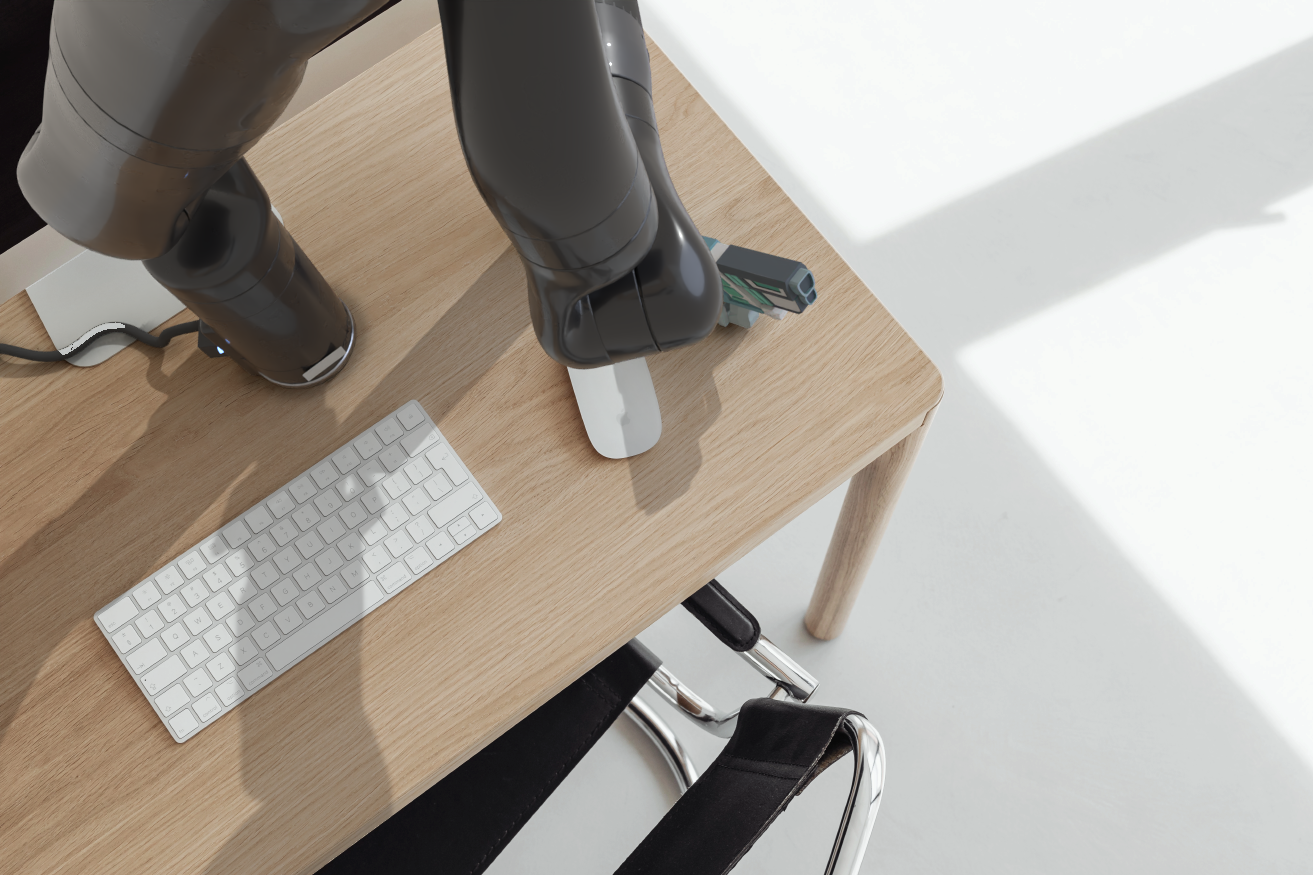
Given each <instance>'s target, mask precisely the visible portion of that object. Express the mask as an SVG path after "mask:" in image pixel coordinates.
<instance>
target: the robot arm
mask: <svg viewBox="0 0 1313 875" xmlns="http://www.w3.org/2000/svg"><path fill="white" fill-rule="evenodd" d="M388 2H390V0H54V1H53V7H52V8H53V9H52V15H51V20H50V28H49V29H50V30H49V37H48V38H49V50H48V60H47V67H46V74H45V82H44V90H43V100H42V102H43V103H42V119H41V122H40V124H39V126H38V127H37V129H36V130H35V132H34V134H33V135H32V136H31V138H30V140H29V142H28V143H27V145H26V146H25V148H24V150H23V151H22V153H21V155H20V158H19V161H18V162H17V168H16V178H17V179H16V180H17V183H18V186H19V188H20V190H21V193H22V194H23V197H24V198H25V200H26V201H27V203H28V204H29V206H30V207H31V209H33V211H34V212H35V213H36V214H37V215H38V216H39V217H40V218H41V219H42V220H43V221H44V222H45V224H47V225H48V226H49V227H50V228H51V229H53V230H54V231H55V232H57V233H58V234H60V236H63V237H64V238H66V239H67V240H68V241H70V242H72V243H73V244H75V245H78V246H79V247H82V248H84V249H85V250H88V251H91V252H94V253H96V254H99V255H102V256H105V257H109V258H113V259H117V260H123V261H133V262H134V261H136V262H137V261H141V263H142V265H143V267H144V268H145V270H146V271H147V272H148V274H150V276H151V277H152V278H153V279H154V280H155V281H156V282H157V283H158V284H159V285H161V286H162V287H163V288H164V289H165V290H167V291H168V292H169V293H170V294H171V295H172V296H174V298H175V299H177V300H178V301H179V302H180V303H182V305H183V306H185V307H186V308H187V309H188V310H189V311H190V312H192V313H193V314H194V315H195V316H196V317H197V318H198V319H196V320H191V321H186V322H181V323H178V324H175V325H172V326H169V327H165V328H164V329H162V330H161V332H160V334H159V336H156V335H153V334H150V333H148V332H147V331H145V330H144V329H141V328H139V327H137V326H136V325H133V324H131V323H130V324H129V323H126V322H122V321H109V322H107V323H115V322H116V323H121V324H123V325H125V328H117V329H107V330H103V331H101V332H98V333H96V334H95V335H93V336H92V337H90V338H89V339H88V340H86V341H85V342H84V343H83V344H81V345H80V346H79V347H77V348H76V349H74V350H73V351H71V352H69V353H68V354H65V355H62V354H61V353H60V352H59V351H58V350H61V349H64V348H66V347H68V346H69V345H71V344H72V343H74V342H75V341H73V342H72V343H70V344H69V345H66V346H65V347H63V348H60V349H56V350H48V351H46V350H45V351H44V350H35V349H29V348H25V347H21V346H17V345H12V344H8V343H2V342H0V355H6V356H10V357H14V358H17V359H18V358H19V359H23V360H27V361H32V362H39V363H54V362H55V363H56V362H61V361H65V360H68V359H70V358H72V357H74V356H75V355H78V354H79V353H81V352H82V351H83V350H85V349H86V348H88V347H89V346H90V345H92V343H94V342H95V341H97V340H98V339H100V338H101V337H103V336H106V335H109V334H113V333H119V334H125V335H127V336H129V337H132V338H133V339H135V340H138V341H139V342H141V343H143V344H145V345H147V346H150V347H153V348H159V349H160V348H165V347H167V346H169V345H170V342H171V341H172V339H173V338H176V337H179V336H183V335H187V334H192V333H196V332H197V349H199V351H200V350H201V352H203V353H204V354H205V355H206V356H208V357H209V358H210V359H217V358H228V357H229V358H230V359H231V360H232V361H234V362H235V363H236V364H237V365H238V366H239V367H241V368H242V369H243V370H244V371H245V372H246V373H247V374H249V375H250V376H251V377H252V376H253V377H254V376H255V377H256V376H261V377H263V378H264V379H266V380H267V381H268V382H270V383H272V384H274V385H276V386H278V387H281V388H284V389H285V388H286V389H292V390H298V389H299V390H301V389H307V388H313V387H315V386H318V385H321V384H323V383H325V382H328V380H330V379H332V378H333V377H335V376H336V375H337V374H338V373H339V372H340V371H341V370H342V369H343V368H344V367H345V365H346V364H347V363H348V361H349V360H350V358H351V356H352V354H353V352H354V349H355V346H356V341H357V326H356V321H355V318H354V315H353V313H352V311H351V310H350V308H349V306H347V304H346V303H345V302H344V300H342V298H341V297H339V295H337V293H336V292H335V290H334V289H333V287H332V286H331V285H330V283H329V282H328V281H327V280H326V279H325V278H324V276H323V275H322V273H321V272H320V271H319V270H318V268H317V267H316V265H315V264H314V263H313V261H312V260H311V259H310V257H308V255H307V254H306V253H305V251H304V250H303V249H302V247H301V246H300V245H299V243H298V242H297V241H296V240H295V238H294V237H293V236H292V234H291V233H290V232H289V231H288V229H287V228H286V227H285V225H284V224H283V223H282V222H281V220H280V219H279V217H277V215H276V213H274V211H273V210H272V203H271V199H270V196H269V194H268V192H267V190H266V188H265V186H264V185H263V183H262V182H261V181H260V179H259V178H258V176H257V175H256V173H255V171H254V170H253V169H252V167H251V165H250V163H249V162H248V160H247V158H246V157H245V155H246V154H247V153H248V152H249V151H250V150H251V149H252V148H254V147H255V146H256V145H257V144H258V142H259V141H260V140H261V139H263V137H264V136H265V135H266V133H267V132H269V130H270V129H271V128H272V127H273V125H274V124H275V123H276V122H277V121H278V119H279V118H280V117H281V116H282V115H283V113H284V112H285V110H286V109H287V107H288V106H289V104H290V103H291V101H292V100H293V98H294V97H295V95H296V94H297V92H298V91H299V89H300V87H301V85H302V82H303V80H304V76H305V74H306V71H307V67H308V64H309V59H310V58H311V57H313V56H315V54H317V53H318V52H320V51H321V50H322V49H324V48H325V47H327V46H328V45H329V44H331V43H332V42H333V41H334V40H336V39H337V38H339V37H341V36H342V35H343V34H344V33H346V32H347V31H349V30H351V29H352V28H353V27H355V26H357V25H358V24H359V23H360V22H362V21H363V20H365V19H366V18H367V17H369V16H371V15H372V14H373V13H375V12H376V11H378V10H379V9H380V8H382V7H383V6H385V5H386V4H387V3H388ZM437 7H438V14H439V20H440V26H441V34H442V41H443V42H442V43H443V49H444V58H445V64H446V66H445V67H446V71H447V79H448V86H449V94H450V100H451V107H452V113H453V119H454V125H455V130H456V135H457V139H458V142H459V145H460V149H461V152H462V155H463V158H464V161H465V164H466V168H467V170H468V173H469V175H470V177H471V180H472V182H473V184H474V186H475V188H476V190H477V192H478V193H479V195H480V197H481V198H482V200H483V201H484V203H485V205H486V206H487V208H488V209H489V211H490V213H491V215H492V216H493V217H494V218H495V220H496V221H497V223H498V224H499V226H500V228H501V229H502V231H503V232H504V234H505V235H506V236H507V238H508V239H509V241H510V242H511V244H512V246H513V247H514V249H515V250H516V252H517V254H518V256H519V258H520V260H521V262H522V265H523V269H524V273H525V277H526V285H527V286H526V288H527V300H528V308H529V314H530V319H531V320H530V321H531V323H532V328H533V332H534V335H535V338H536V340H537V341H538V344H539V346H540V347H541V349H542V350H543V351H544V353H545V354H546V355H547V356H548V357H549V358H550V359H551V360H553V361H554V362H556V363H557V364H560V365H562V366H564V367H567V368H570V369H574V370H582V371H583V370H585V371H586V370H595V369H599V368H604V367H607V366H611V365H615V364H620V363H621V364H622V363H625V362H629V361H633V360H638V359H641V358H645V357H649V356H654V355H658V354H661V353H662V352H663V353H667V352H672V351H675V350H681V349H685V348H688V347H692V346H694V345H697V344H700V343H702V342H703V341H705V340H706V339H708V337H710V335H711V334H712V333H713V332H714V331H715V328H716V327H717V325H718V321H719V318H720V316H721V313H722V308H723V305H724V303H725V302H724V290H723V283H722V279H721V275H720V272H719V269H718V266H717V264H716V262H715V260H714V258H713V256H712V254H711V252H710V250H709V247H708V246H707V244H706V242H705V240H704V239H703V237H702V236H703V235H702V234H701V232H700V230H699V229H698V227H697V226H696V224H695V222H694V220H693V219H692V217H691V215H690V214H689V212H688V210H687V208H686V207H685V205H684V203H683V201H682V199H681V198H680V195H679V193H678V191H677V188H676V187H675V185H674V182H673V180H672V177H671V175H670V174H671V173H670V171H669V169H668V165H667V162H666V159H665V156H664V155H665V154H664V152H663V147H662V146H663V145H662V142H661V137H660V132H659V127H658V122H657V117H656V116H657V115H656V111H655V107H654V99H653V80H652V68H651V56H650V52H649V49H648V47H647V42H646V37H645V32H644V28H643V22H642V17H641V12H640V7H639V2H638V0H437ZM105 323H106V322H104V323H101V324H98V325H96V326H93V327H92V328H91V329H93V328H95V327H97V326H99V325H102V324H105ZM91 329H89V330H88V331H90V330H91ZM88 331H86V332H85V333H87V332H88ZM83 335H84V334H82V335H81V336H80V337H82V336H83ZM78 339H79V338H77V339H76V340H78ZM72 345H73V344H72ZM72 348H73V347H72ZM72 348H71V350H72Z"/></svg>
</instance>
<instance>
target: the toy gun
mask: <svg viewBox="0 0 1313 875" xmlns="http://www.w3.org/2000/svg"><path fill="white" fill-rule="evenodd" d="M702 237H703V239H704V240H705V242H706V244H707V246H708V247H709V250H710V252H711V254H712V256H713V258H714V260H715V262H716V264H717V266H718V269H719V272H720V275H721V279H722V283H723V290H724V302H723V308H722V313H721V316H720V318H719V321H718V323H717V325H719V326H722V327H725V328H726V327H727V326H729V324H730V323H731V324H733V325H737V326H738V327H742V328H744V329H751V328H752V327H753V326H754V324H756V322H757V320H758V319H759V317H760V314H762V315H765V316H766V317H769V318H771V319H773V320H777V321H782V320H783V319H784V318H785V317H786V315H787V314H788V313H793V314H796V315H801V314H802V313H804V311H806V309H807V307H808V306H812V305H813V304H814V303H815V302H816V300H817V299H818V291H817V290H816V279H815V277H814V274H813V272H812V270H810V269H809V268H808V267H807V265H805V264H804V263H803V262H802V261H798V260H794V259H791V258H786V257H783V256H778V255H774V254H770V253H766V252H762V251H759V250H754V249H751V248H746V247H743V246H739V245H734V244H732V243H731V244H727V243H722V242H721V241H720V240H719V239H717V238H714V237H709V236H706V235H702Z"/></svg>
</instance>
